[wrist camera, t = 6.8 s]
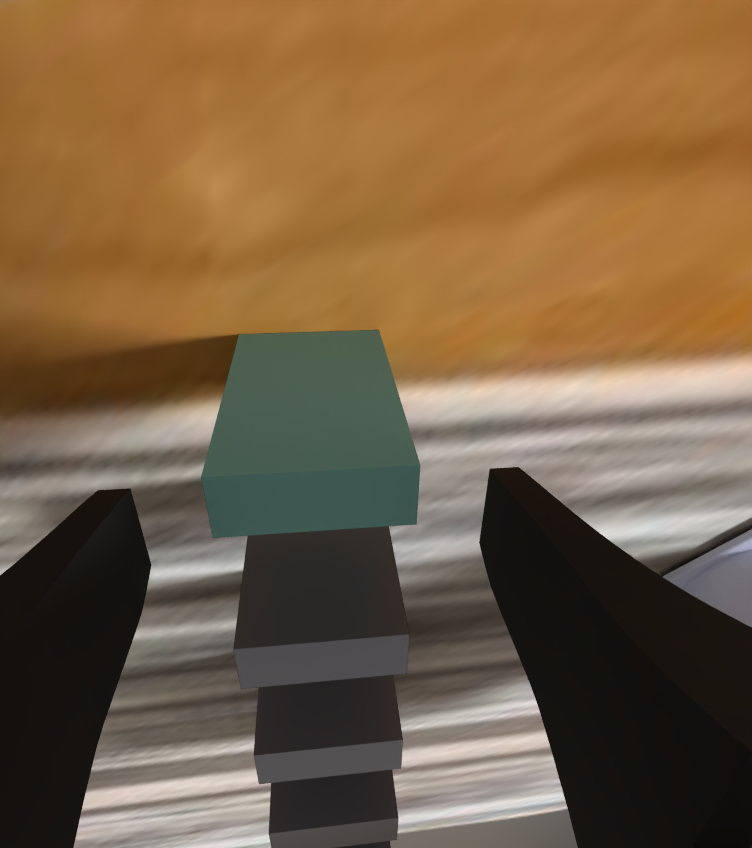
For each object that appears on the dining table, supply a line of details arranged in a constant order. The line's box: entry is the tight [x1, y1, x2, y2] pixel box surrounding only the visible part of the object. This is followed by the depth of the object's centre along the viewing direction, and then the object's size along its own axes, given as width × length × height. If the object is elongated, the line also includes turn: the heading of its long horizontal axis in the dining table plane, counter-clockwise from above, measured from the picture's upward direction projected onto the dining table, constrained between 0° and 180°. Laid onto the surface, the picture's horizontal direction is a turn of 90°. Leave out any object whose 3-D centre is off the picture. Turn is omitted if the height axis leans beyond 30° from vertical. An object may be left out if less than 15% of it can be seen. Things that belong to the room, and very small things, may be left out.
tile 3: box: [254, 675, 403, 784], centre depth 20 cm, size 2×4×8 cm, turn 89°
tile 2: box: [269, 770, 398, 848], centre depth 23 cm, size 2×4×8 cm, turn 89°
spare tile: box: [201, 330, 420, 538], centre depth 15 cm, size 2×4×8 cm, turn 90°
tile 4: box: [233, 526, 409, 689], centre depth 18 cm, size 2×4×8 cm, turn 89°
